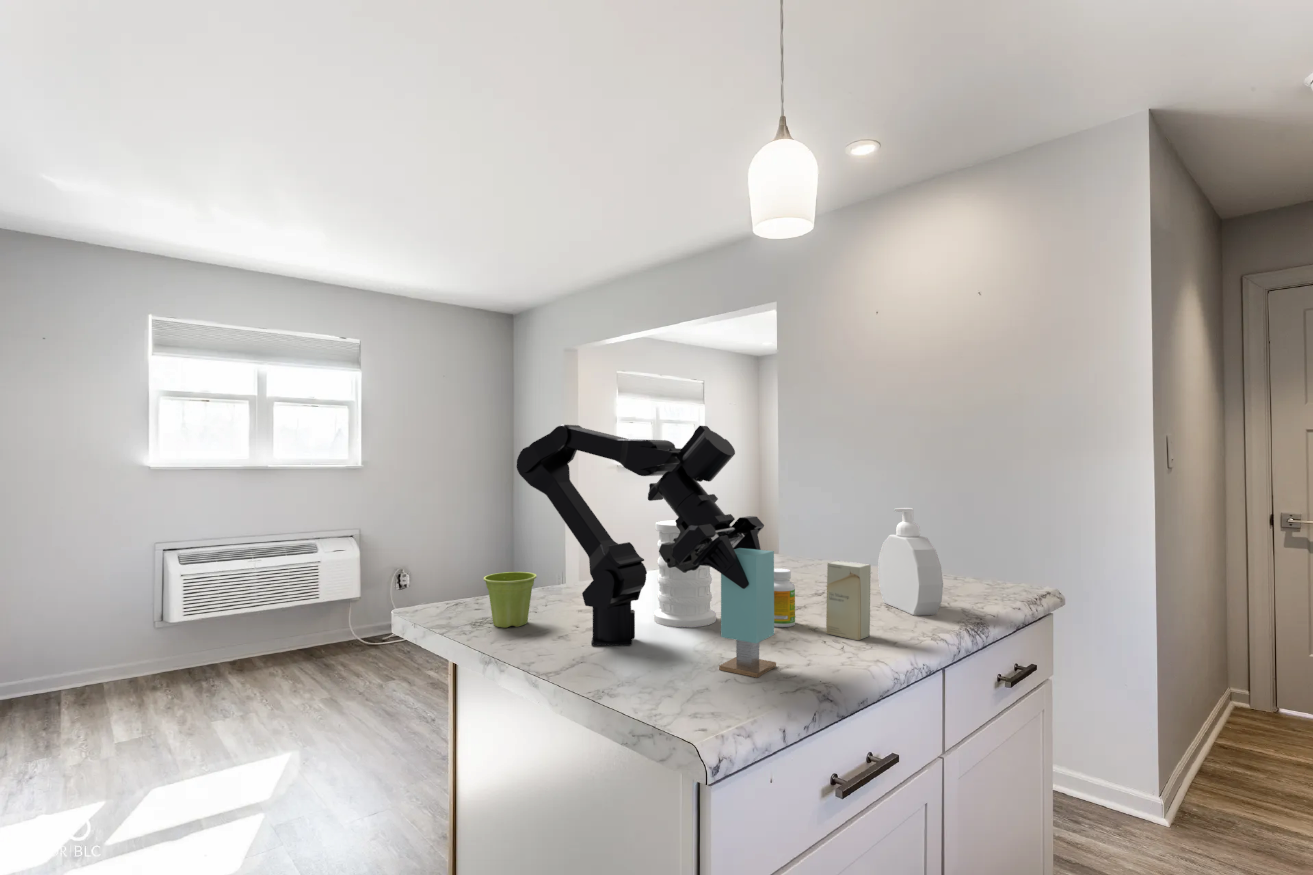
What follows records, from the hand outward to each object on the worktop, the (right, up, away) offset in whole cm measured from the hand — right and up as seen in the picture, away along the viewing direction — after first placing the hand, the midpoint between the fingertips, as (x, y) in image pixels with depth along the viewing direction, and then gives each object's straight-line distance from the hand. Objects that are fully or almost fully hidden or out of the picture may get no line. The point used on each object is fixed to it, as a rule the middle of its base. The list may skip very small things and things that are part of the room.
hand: (756, 583), depth 95 cm
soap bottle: (+36, -13, +37) cm, 54 cm away
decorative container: (-9, -13, +29) cm, 33 cm away
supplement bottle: (+8, -13, +26) cm, 30 cm away
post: (-1, -12, 0) cm, 12 cm away
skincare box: (+18, -13, +18) cm, 29 cm away
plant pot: (-41, -13, +26) cm, 50 cm away
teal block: (-1, -8, +1) cm, 8 cm away
